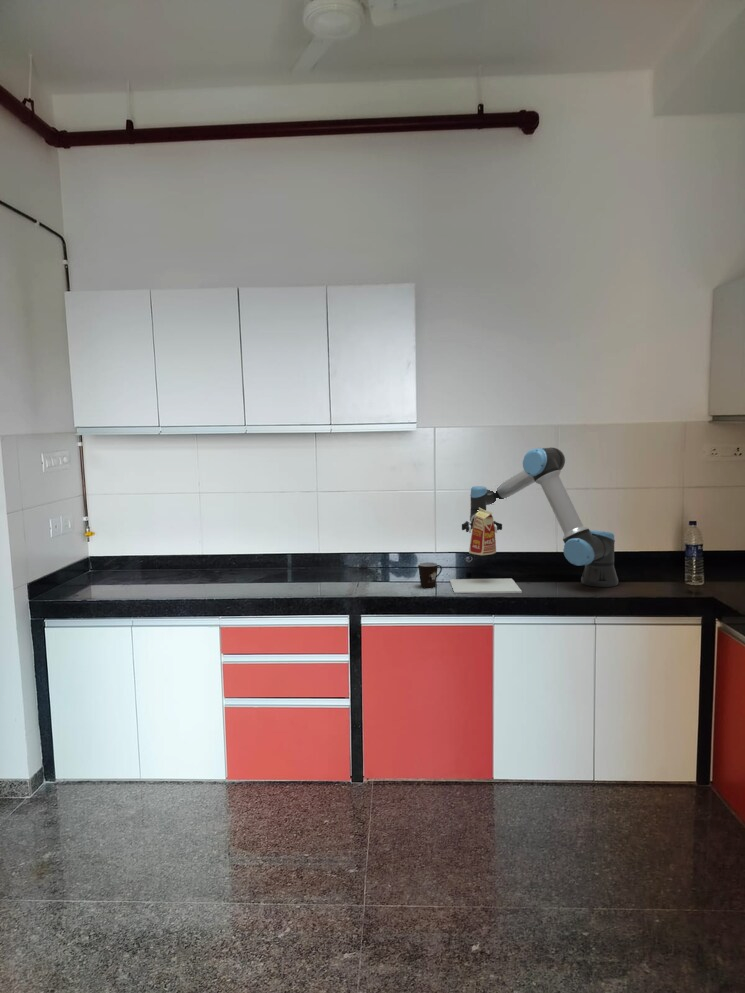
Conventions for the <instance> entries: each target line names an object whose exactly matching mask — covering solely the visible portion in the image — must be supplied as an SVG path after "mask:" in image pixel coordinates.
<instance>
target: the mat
mask: <svg viewBox="0 0 745 993" xmlns="http://www.w3.org/2000/svg"><path fill="white" fill-rule="evenodd" d="M449 584H450V586H451V588H453V589H452V592H453V591H454V592H453V594H454V593H475V594H522V593H523V591H522V589H521V588H520V587H519V586H518V584H517V583H516V582H515V580H514V579H513V578H461V579H460V578H457V579H456V578H454V579H453V578H450V579H449Z"/></svg>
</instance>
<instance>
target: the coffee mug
mask: <svg viewBox="0 0 745 993" xmlns="http://www.w3.org/2000/svg"><path fill="white" fill-rule="evenodd" d="M417 566H418V576H419V582H420V588H421V587H423V588H422V589H426V588H431V589H434V588H433V587H435V588H436V585H437V578H438V577H439V576H440V574H441V573H442V570H443V568H442V565H441V564H438V563H437V562H429V561H427V562H426V561H425V562H420V563H418V564H417ZM438 567H440V568H439V569H440V570H439V572H438Z"/></svg>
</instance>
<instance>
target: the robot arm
mask: <svg viewBox="0 0 745 993" xmlns="http://www.w3.org/2000/svg"><path fill="white" fill-rule="evenodd" d="M565 463H566V457H565V455H564V453H563V452H562V451H561V450H560V449H559V448H556V447H542V448H541V447H537V448H536V447H535V448H532V449H530V450H528V451H527V452H526V453H525V455H524V456H523V460H522V468H523V470H521V471H519V472H517V473H516V474H514V475H513V476H511V477H509V478H508V479H506V480H505V482H504V481H503V482H501V483H502V484H501V483H500V484H501V485H500V486H499V487H498V488H497V491H496V493H494V492H493V491H490V490H488V488H487V486H483V485H481V486H480V485H479V486H478V485H475V486H472V487H471V488H470V495H469V496H470V512H469V513H470V515H469V521H467V520H466V521H464V522H463V523H462V524H461V531H465V532H466V533H469V534H472V528H473V523H474V517H475V514H476V513H477V512H478V511H477V510H479V508H481V509H483V510H485V511H487V506H489V505H490V504H491V505H493V504H492V503H494V502H495V501H496V498H499V499H504V498H506V499H508V498H510V497H512V496H513V495H515V494H517V493H519V492H520V491H522V490H524V489H525V488H527V487H529V486H531V485H532V484H534V483H535V484H537V485H539V486H541V489H542V490H543V492H544V495H545V496H546V498H547V502H548V503H549V506H550V507H551V509H552V512H553V514H554V515H555V518H556V520H557V522H558V524H559V526H560V528H561V531H562V532H563V538H562V541H563V543H564V545H563V555H564V557H565V559H566V560H567V561H568V563H570V564H572V565H573V566H578V567H579V566H584V569H583V572H582V574H581V575H582V576H581V578H580V580H581V581H580V582H581V584H583V585H584V586H590V587H596V588H611V587H617V586H618V585H619V578H618V575H617V572H616V568H615V542H616V541H615V540H616V539H615V535H614V532H612V531H605V530H592V529H589V527H586V526H584V524H583V522H582V521H581V518H580V516H579V513H577V510H576V508H575V506H574V504H573V502H572V500H571V498H570V496H569V494H568V492H567V489H566V487H565V486H564V483H563V482H562V479H561V478H560V475H561V472H562V471H561V470H563V469H564V467H565ZM507 497H508V498H507ZM491 505H490V506H491ZM493 521H494V531H495V534H497V533H498V531H502V530H503V524H502V523H500V522H498V521H496V520H493Z"/></svg>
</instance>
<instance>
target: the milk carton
mask: <svg viewBox="0 0 745 993" xmlns="http://www.w3.org/2000/svg"><path fill="white" fill-rule="evenodd" d="M492 514H493V512H492V511H487V510H486V511H485V510H483V509H481V508H479V511H478V512H477V513H476V514H475V517H474V523H473V528H472V529H471V535H470V541H469V542H470V543H469V548H468V549H469V551H468V553H469V554H472V555H477V556H488V555H494V554H496V553H497V546H496V545H497V543H496V541H497V540H496V533H495V531H494V521H495V520H494V516H493V515H492Z"/></svg>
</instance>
